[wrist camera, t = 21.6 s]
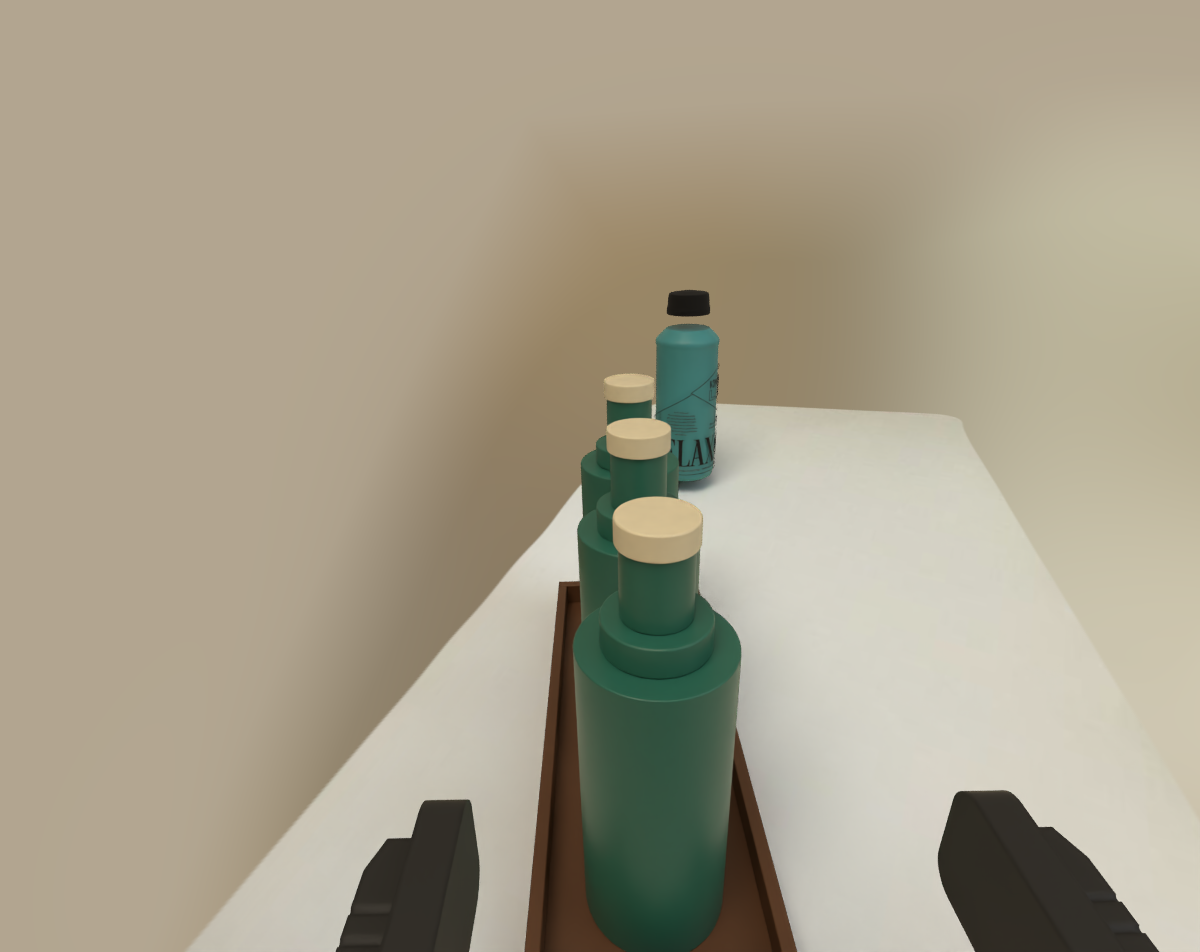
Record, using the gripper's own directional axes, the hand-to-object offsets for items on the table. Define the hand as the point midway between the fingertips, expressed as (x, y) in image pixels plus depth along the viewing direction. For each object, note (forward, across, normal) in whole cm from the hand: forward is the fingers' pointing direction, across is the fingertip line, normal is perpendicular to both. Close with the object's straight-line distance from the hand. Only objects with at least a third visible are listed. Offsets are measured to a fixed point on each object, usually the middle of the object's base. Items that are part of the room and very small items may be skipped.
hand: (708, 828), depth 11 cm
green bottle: (+11, 0, +18) cm, 21 cm away
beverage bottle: (+55, -7, +18) cm, 58 cm away
